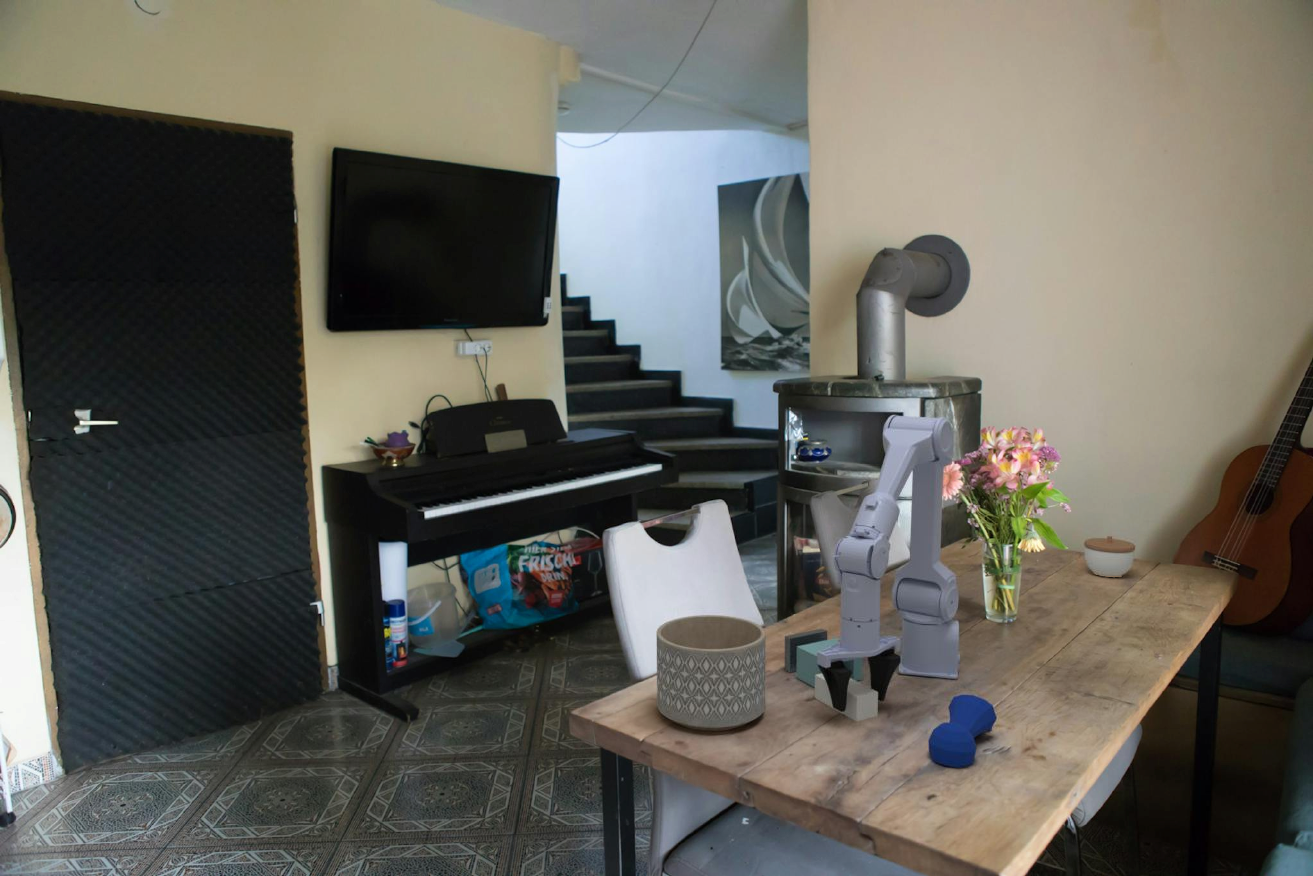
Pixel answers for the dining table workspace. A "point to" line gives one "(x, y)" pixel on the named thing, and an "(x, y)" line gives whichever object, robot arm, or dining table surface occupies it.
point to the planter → (711, 671)
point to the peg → (850, 699)
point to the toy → (961, 731)
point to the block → (809, 665)
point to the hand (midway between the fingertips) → (858, 704)
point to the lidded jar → (1109, 555)
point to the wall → (799, 640)
